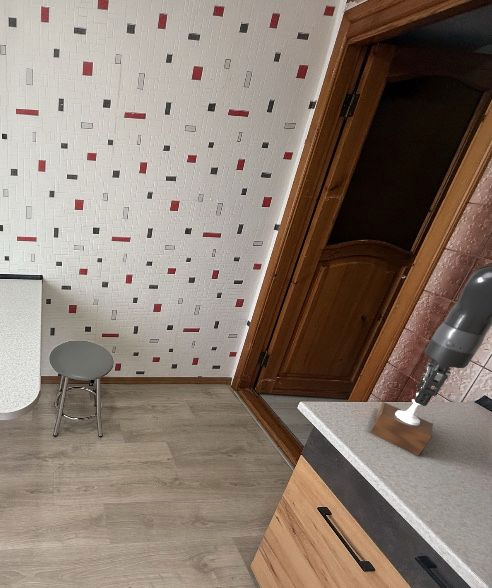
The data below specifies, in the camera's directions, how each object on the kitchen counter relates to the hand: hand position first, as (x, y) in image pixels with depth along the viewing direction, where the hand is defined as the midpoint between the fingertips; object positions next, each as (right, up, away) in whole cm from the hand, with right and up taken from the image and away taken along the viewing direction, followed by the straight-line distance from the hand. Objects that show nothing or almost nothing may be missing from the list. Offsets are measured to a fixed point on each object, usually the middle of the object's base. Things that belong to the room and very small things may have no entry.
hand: (420, 396), depth 86 cm
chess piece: (-1, -7, +3) cm, 8 cm away
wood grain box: (+1, -12, +8) cm, 15 cm away
